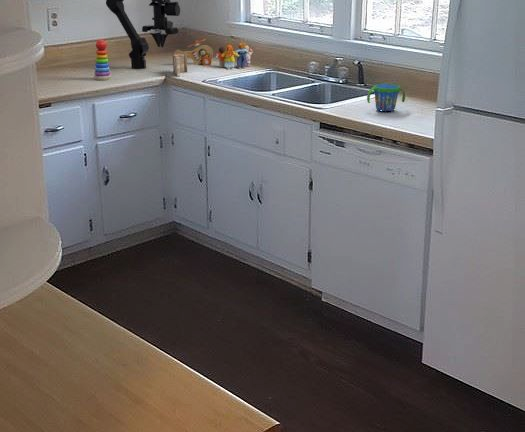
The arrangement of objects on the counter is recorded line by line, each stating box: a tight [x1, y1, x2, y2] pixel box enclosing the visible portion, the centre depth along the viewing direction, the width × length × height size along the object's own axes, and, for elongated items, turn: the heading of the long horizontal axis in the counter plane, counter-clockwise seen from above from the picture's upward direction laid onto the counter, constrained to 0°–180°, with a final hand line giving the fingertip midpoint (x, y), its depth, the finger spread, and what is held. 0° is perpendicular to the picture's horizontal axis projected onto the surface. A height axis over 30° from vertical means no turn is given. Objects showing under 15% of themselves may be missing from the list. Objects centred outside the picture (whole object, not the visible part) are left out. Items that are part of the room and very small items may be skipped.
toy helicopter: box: [173, 38, 214, 66], centre depth 423 cm, size 8×21×14 cm, turn 95°
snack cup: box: [366, 83, 406, 111], centre depth 330 cm, size 16×10×10 cm
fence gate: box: [172, 52, 181, 77], centre depth 397 cm, size 12×2×9 cm, turn 14°
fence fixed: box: [177, 53, 188, 73], centre depth 403 cm, size 4×2×9 cm, turn 105°
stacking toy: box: [93, 39, 112, 81], centre depth 388 cm, size 8×8×19 cm
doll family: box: [215, 42, 254, 71], centre depth 415 cm, size 21×10×13 cm, turn 115°
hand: (160, 47), depth 407 cm, fingers closed
